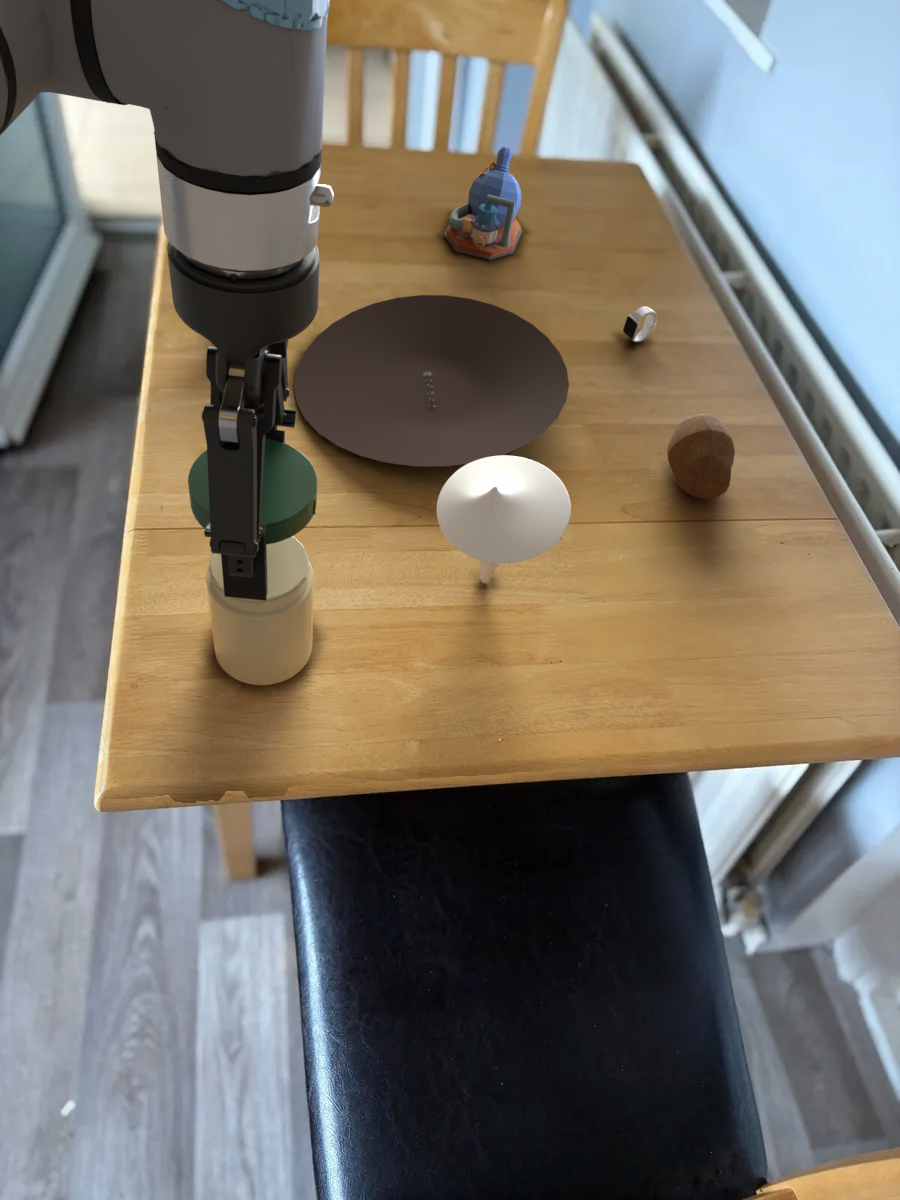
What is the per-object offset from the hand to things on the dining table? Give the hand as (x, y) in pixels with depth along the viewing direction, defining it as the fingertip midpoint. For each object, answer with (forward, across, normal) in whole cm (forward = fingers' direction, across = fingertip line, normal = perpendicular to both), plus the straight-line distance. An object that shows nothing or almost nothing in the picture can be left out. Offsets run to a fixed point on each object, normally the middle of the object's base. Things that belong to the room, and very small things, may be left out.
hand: (256, 545), depth 63 cm
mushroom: (+12, +9, -18) cm, 23 cm away
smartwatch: (+12, +48, -36) cm, 62 cm away
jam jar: (+12, 0, 0) cm, 12 cm away
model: (+12, +68, -18) cm, 71 cm away
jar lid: (-6, 0, 0) cm, 6 cm away
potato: (+12, +26, -39) cm, 48 cm away
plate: (+12, +34, -12) cm, 38 cm away
